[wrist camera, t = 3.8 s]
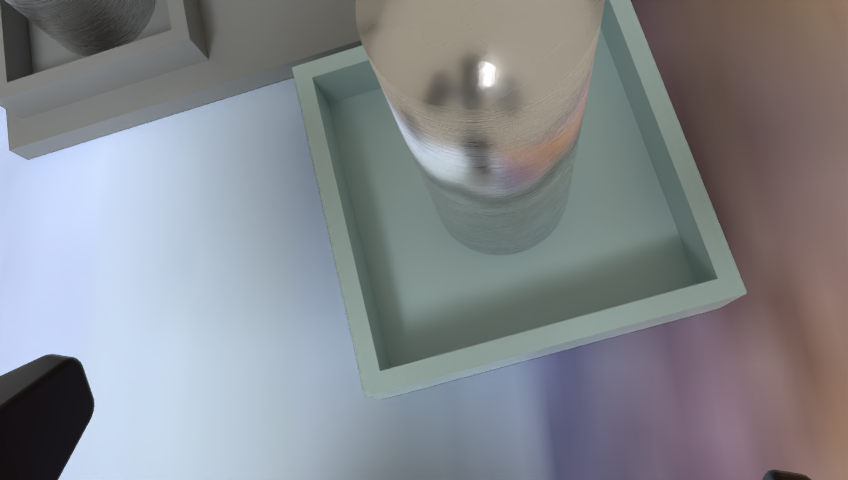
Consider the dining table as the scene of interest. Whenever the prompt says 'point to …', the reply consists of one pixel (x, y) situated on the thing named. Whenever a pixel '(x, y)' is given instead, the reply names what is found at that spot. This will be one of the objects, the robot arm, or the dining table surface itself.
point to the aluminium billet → (487, 106)
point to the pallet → (158, 65)
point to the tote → (528, 270)
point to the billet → (88, 21)
